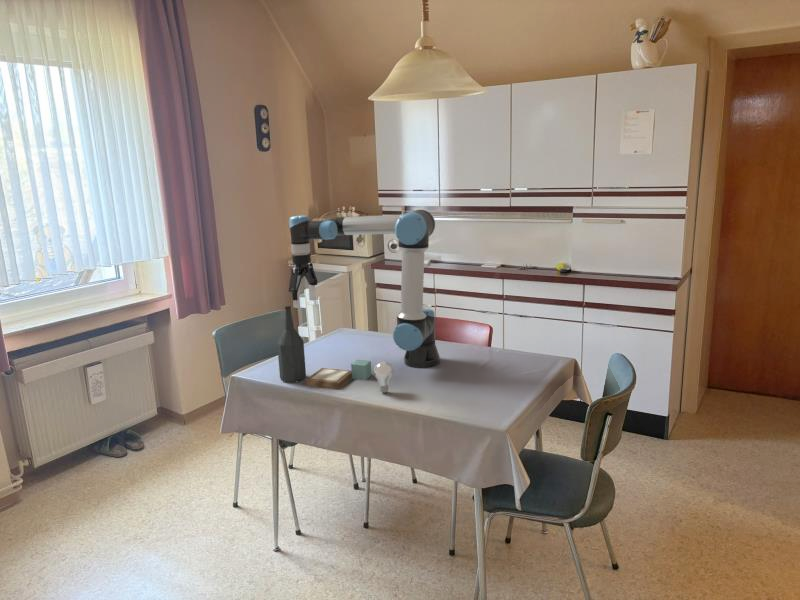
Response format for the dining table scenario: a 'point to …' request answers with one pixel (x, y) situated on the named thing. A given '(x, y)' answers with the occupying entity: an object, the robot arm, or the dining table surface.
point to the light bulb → (383, 375)
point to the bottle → (291, 352)
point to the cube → (361, 369)
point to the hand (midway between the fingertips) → (305, 304)
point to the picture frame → (329, 378)
